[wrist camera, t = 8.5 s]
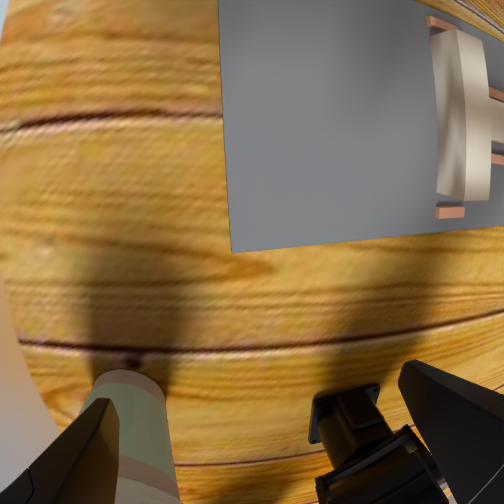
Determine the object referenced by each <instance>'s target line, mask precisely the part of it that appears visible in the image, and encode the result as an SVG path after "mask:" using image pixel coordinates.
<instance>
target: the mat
mask: <svg viewBox="0 0 504 504" xmlns="http://www.w3.org/2000/svg"><path fill="white" fill-rule="evenodd" d="M218 19H219V46H220V70H221V91H222V111H223V130H224V148H225V165H226V181H227V197H228V212H229V226H230V240H231V252H232V253H242V252H251V251H261V250H271V249H280V248H290V247H300V246H309V245H319V244H329V243H339V242H348V241H358V240H368V239H378V238H387V237H397V236H407V235H417V234H426V233H436V232H446V231H456V230H465V229H475V228H485V227H495V226H504V144H500V143H496V142H491V176H490V192H489V200H485V201H464V200H460V199H457V198H454V197H450V196H447V195H443V194H440V193H437V170H438V127H437V104H436V90H435V78H434V69H433V60H432V52H431V45H430V39H429V36H432V35H435V34H439V33H442V32H445V31H448V30H452V29H455V28H456V29H458V30H460V31H462V32H465V33H467V34H469V35H471V36H473V37H475V38H477V39H479V40H481V41H482V44H483V50H484V56H485V62H486V70H487V78H488V87H489V98H492V99H494V100H497V101H500V102H502V103H504V43H503V42H501V41H500V40H498V39H496V38H494V37H492V36H491V35H489V34H487V33H485V32H483V31H481V30H479V29H478V28H476V27H474V26H472V25H470V24H468V23H466V22H463V21H461V20H459V19H457V18H455V17H453V16H450V15H448V14H446V13H444V12H441V11H439V10H436V9H434V8H431V7H429V6H426V5H424V4H421V3H418V2H416V1H413V0H218Z"/></svg>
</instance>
